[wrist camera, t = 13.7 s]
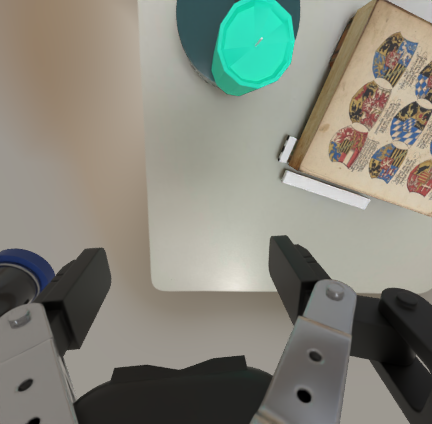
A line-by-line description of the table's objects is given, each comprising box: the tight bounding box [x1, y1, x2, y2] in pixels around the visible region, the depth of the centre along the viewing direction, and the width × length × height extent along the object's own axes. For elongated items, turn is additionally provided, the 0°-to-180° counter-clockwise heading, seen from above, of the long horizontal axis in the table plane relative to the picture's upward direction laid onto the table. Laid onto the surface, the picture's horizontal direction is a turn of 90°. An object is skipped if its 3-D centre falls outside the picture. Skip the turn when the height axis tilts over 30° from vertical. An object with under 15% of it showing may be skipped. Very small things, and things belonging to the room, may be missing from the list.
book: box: [278, 0, 432, 217], centre depth 38 cm, size 25×6×28 cm
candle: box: [211, 0, 295, 96], centre depth 22 cm, size 6×6×12 cm
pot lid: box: [176, 0, 300, 83], centre depth 25 cm, size 13×13×5 cm
